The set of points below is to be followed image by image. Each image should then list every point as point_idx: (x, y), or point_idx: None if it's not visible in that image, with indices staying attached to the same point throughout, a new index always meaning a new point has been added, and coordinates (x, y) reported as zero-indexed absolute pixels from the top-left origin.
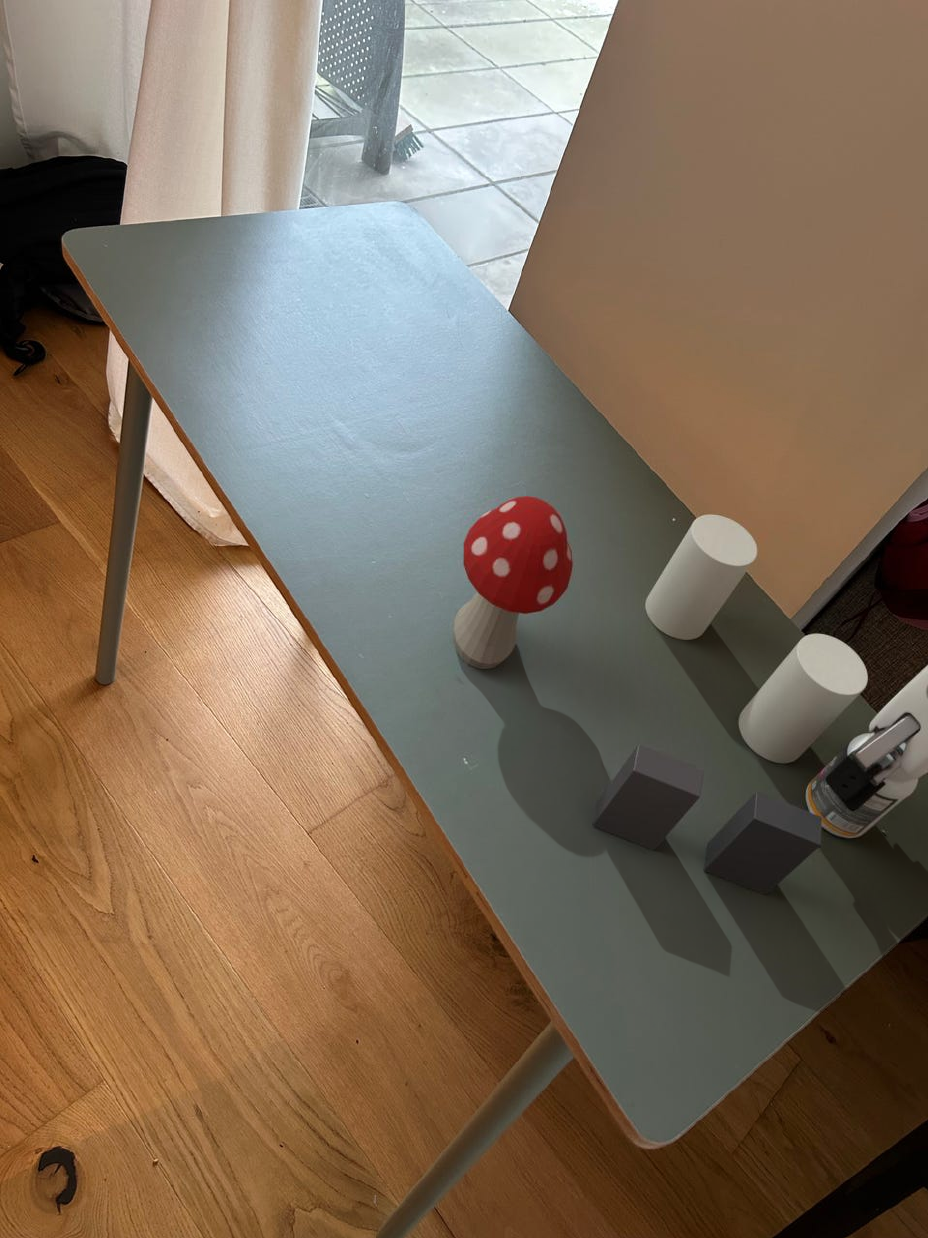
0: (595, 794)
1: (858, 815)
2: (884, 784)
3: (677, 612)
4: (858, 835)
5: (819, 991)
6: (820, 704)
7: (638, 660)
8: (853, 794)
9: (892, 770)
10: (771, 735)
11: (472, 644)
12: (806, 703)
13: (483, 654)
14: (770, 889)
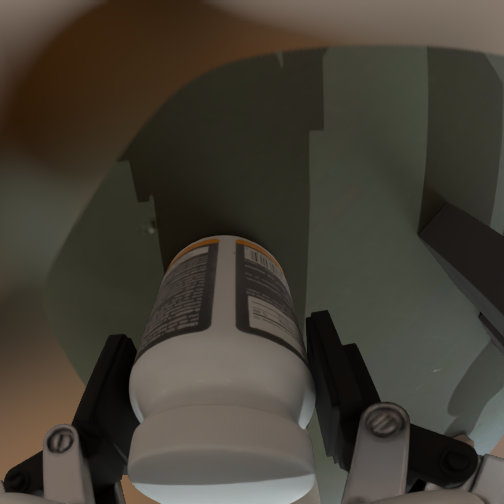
0: (491, 350)
1: (276, 289)
2: (350, 405)
3: None
4: (228, 238)
5: (462, 57)
6: (304, 499)
7: None
8: (363, 361)
9: (405, 474)
10: None
11: None
12: (313, 491)
13: (472, 446)
14: (457, 208)
